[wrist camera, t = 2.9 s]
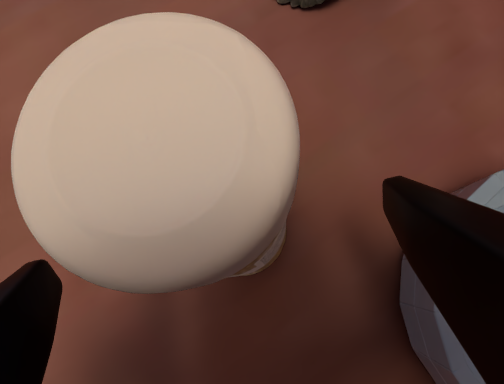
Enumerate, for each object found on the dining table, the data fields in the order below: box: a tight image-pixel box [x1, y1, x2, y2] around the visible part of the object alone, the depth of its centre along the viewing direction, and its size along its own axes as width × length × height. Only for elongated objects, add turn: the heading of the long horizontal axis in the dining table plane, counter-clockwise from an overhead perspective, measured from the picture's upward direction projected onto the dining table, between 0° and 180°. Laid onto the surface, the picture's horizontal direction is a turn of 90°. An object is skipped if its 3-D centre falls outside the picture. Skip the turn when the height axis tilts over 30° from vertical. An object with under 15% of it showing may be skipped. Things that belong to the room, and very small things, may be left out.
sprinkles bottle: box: [11, 12, 300, 294], centre depth 12 cm, size 5×5×14 cm
